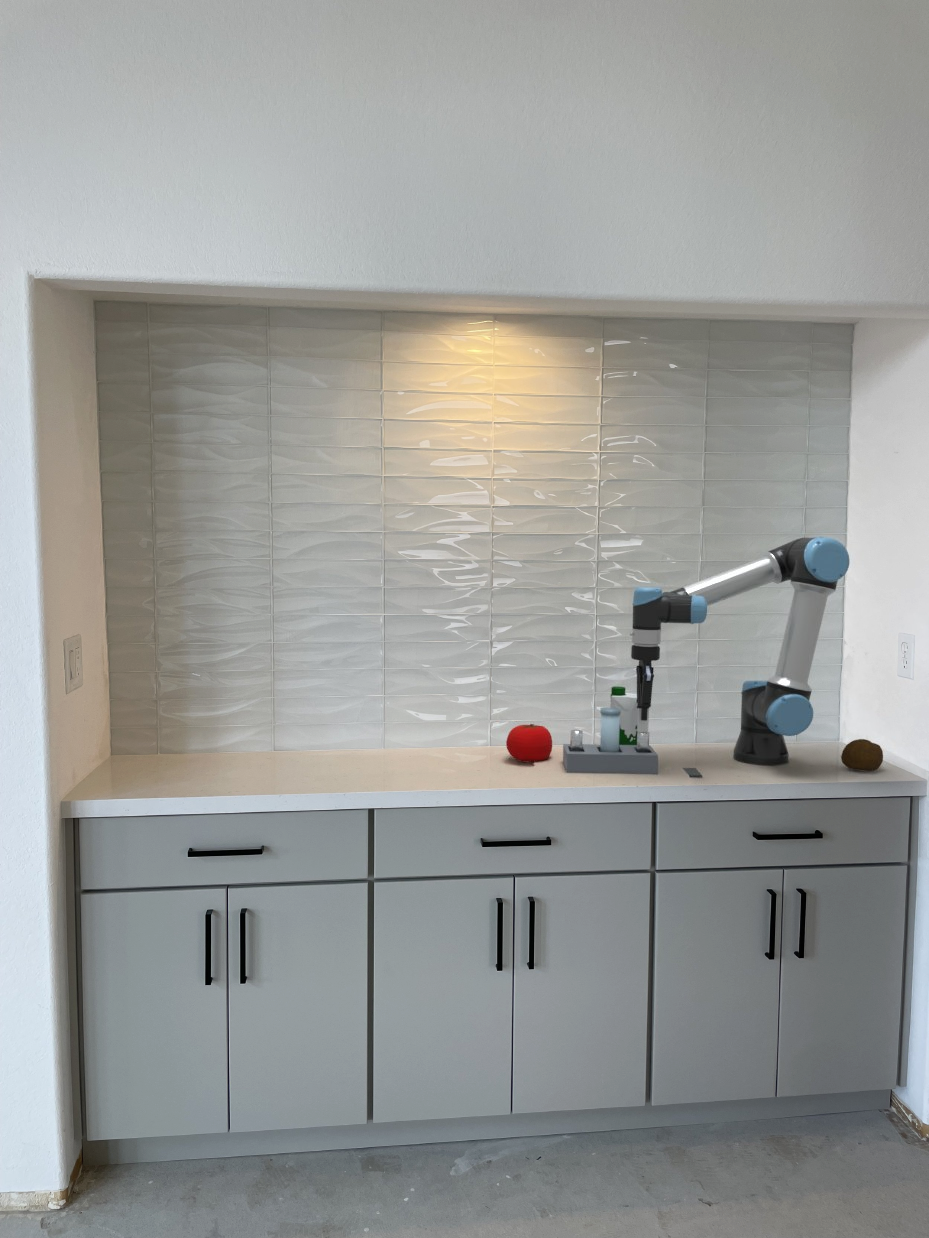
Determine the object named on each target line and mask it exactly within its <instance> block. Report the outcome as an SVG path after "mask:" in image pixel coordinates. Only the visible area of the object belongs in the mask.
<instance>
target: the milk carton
mask: <svg viewBox="0 0 929 1238" xmlns="http://www.w3.org/2000/svg"><path fill="white" fill-rule="evenodd" d="M610 689H611V693H610V705H609V708H618V709H620V710H621V714H620V727H619V745H637V732H638V731H637V721H638V708H637V706H638V703H637V693H635V692H634V693H631V692H626V687H625V686H612V687H611V688H610Z"/></svg>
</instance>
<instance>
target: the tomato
mask: <svg viewBox="0 0 929 1238" xmlns="http://www.w3.org/2000/svg"><path fill="white" fill-rule="evenodd" d="M505 743H506V745H505V746H506V749H507V751H508V753H509V755H510V756H511V757H512V758H513V759H515V760H517V761H519V762H523V763H535V762H540V761H545V760H547V759H548V758H549V757H550V756H551V753H552V751H553V739H552V735H551V732H550V730H548V728H547V727H546V726H543V725H538V724H537V725H535V723H530V724H520V725H517V726H515V727H513V728H511V730H510V731H509V732H508V735H507V738H506V742H505Z"/></svg>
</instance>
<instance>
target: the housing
mask: <svg viewBox="0 0 929 1238" xmlns="http://www.w3.org/2000/svg"><path fill="white" fill-rule="evenodd" d="M562 745H563V746H562V747H563V748H562V763H563V767H564V768H565V772H566V773H568V774H573V773H574V774H619V775H620V774H622V775H658V773H659V771H658V769H659V755H658V753H657V752H656V751H655V750H654V748H653V747H652V746H651V745H650V744H649V753H637V745H619V752H600V744H590V743H587V744H585V743H584V744H583V743H582V752H571V751H570V743H563V744H562Z"/></svg>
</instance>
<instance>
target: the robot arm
mask: <svg viewBox="0 0 929 1238" xmlns="http://www.w3.org/2000/svg"><path fill="white" fill-rule="evenodd" d="M849 567H850V554H849V552H848V550H847V549H846V547H845V545H843V544H842V543H841V542H840V541H838V540H837V539H835V538H830V537H827V536H816V537H801V538H797V539H793V540H792V541H789V542H787V543H784V544H782V545H780V546H777V547H775V548H773V549H771V550H768V551H765V552H764V554H763V556H762V557H759V558H758V559H757V558H756V559H754V560H751V561H749V562H746V563H744V564H741V565H738V566H735V567H733V568H730V569H727V570H725V571H723V572H719V573H717V574H714V575H712V576H709V577H706V578H703V579H701V580H698V581H696V582H693V583H690V584H688V585H685V586H682V587H679V588H676V589H673V590H672V591H664V592H663V589H662V588H661V587H653V586H652V587H648V586H640V587H636V588H635V589H634V591H633V599H632V600H633V601H632V630H631V632H629V636H630V637H631V643H632V645H631V651H630V652H631V653H630V655H631V657H630V658H631V659H633V660H634V661H635V660H636V661H638V665H636V668H635V672H636V694H637V703H638V706H637V708H638V721H637V731H638V732H649V721H650V720H649V718H650V717H649V716H650V708H651V707H652V697H653V696H652V694H653V693H652V692H653V684H654V683H653V682H654V677H655V674H654V666H653V665H652V661H653V662H655V661H659V660H660V657H661V647H660V646H659V645H660V644H661V639H662V638H661V637H662V636H661V634H662V633H661V632H662V624H690V625H694V624H702V623H704V622H705V620H706V619H707V614H708V607H709V606H711V605H714V604H716V603H719V602H723V601H726V600H727V599H730V598H733V597H736V596H739V595H741V594H743V593H746V592H750V591H751V590H755V589H757V588H760V587H762V586H766V585H768V584H771V583H774V584H776V585H779V584H780V583H781V584H782V583H784V582H787V581H790V585H791V586H792V588H793V589H794V591H793V596H792V599H791V605H790V608H789V611H788V612H789V613H788V617H787V621H786V625H785V628H784V629H785V630H784V635H783V638H782V642H781V643H782V644H781V647H780V651H779V656H778V661H777V664H776V668H775V673H774V675H772V677H769V678H768V679H767V680H746V681H743V683H742V686H741V687H742V688H741V689H742V690H741V692H740V693H741V705H740V706H741V713H740V714H741V715H740V732H739V735H738V738H737V740H736V743H735V744H734V747H733V755H732V756H733V758H734V759H735V760H737V761H739V762H743V763H746V764H752V765H760V766H761V765H762V766H779V765H785V764H788V762H789V756H790V755H789V750H788V747H787V744H786V741H785V737H784V736H786V737H792V736H793V737H795V736H797V735H800V734H801V733H803V732H805V731H806V730H807V729H808V728H809V727H810V725H811V724H812V722H813V720H814V708H813V706H812V704H811V701H810V699H811V696H812V688H811V686H810V685H809V683H808V681H809V678H810V677H809V676H810V673H811V668H812V664H813V660H814V655H815V651H816V647H817V643H818V640H819V636H820V635H819V634H820V630H821V626H822V621H823V618H824V613H825V610H826V605H827V602H828V597H829V596H831V595H832V594H833V593H835V592H836V591H837V590H836V589H837V585H838V582H839V580H840V579H842V578H843V577H844V576H845V575H847V574H846V573H847V572H848V570H849ZM652 666H653V667H652Z"/></svg>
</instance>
